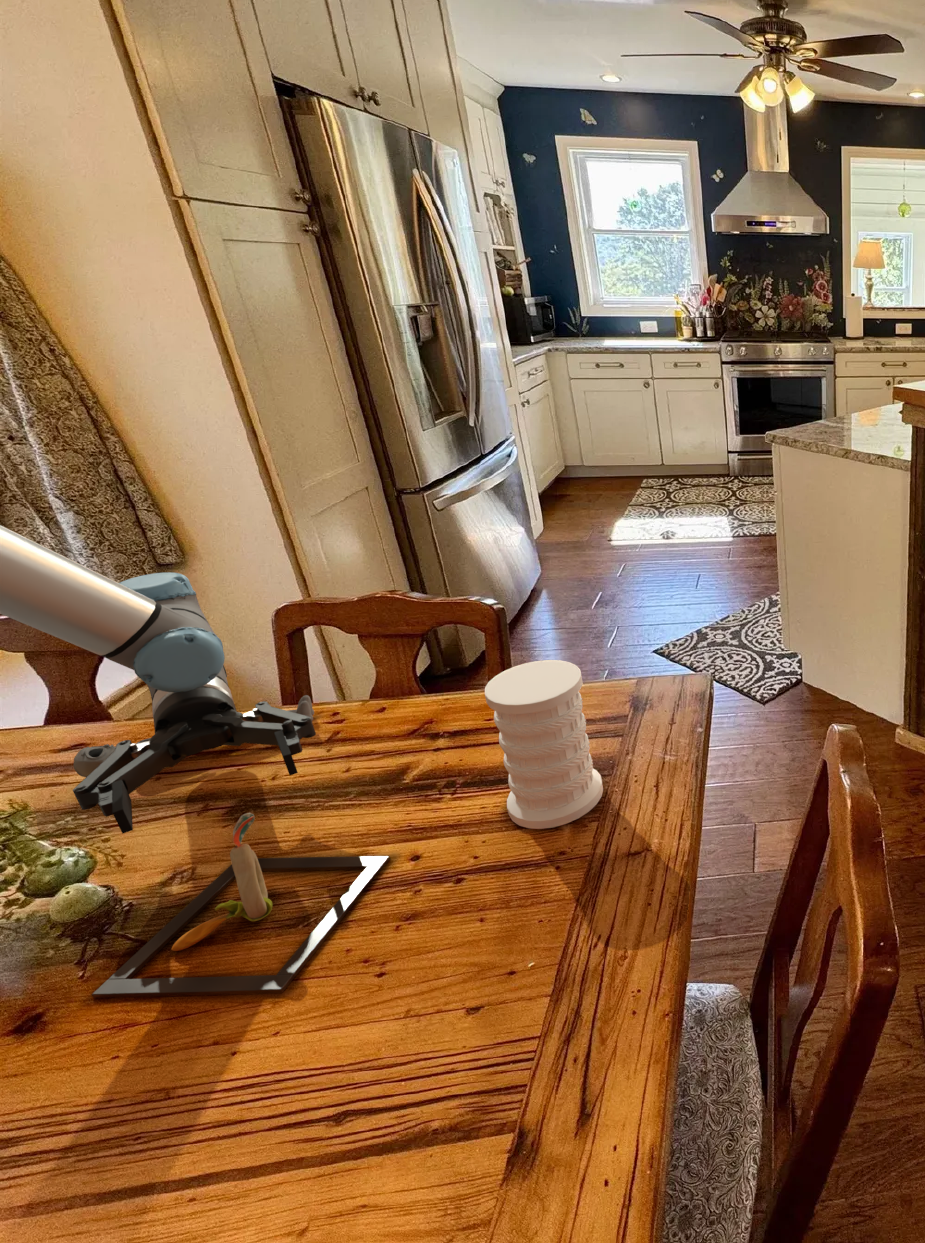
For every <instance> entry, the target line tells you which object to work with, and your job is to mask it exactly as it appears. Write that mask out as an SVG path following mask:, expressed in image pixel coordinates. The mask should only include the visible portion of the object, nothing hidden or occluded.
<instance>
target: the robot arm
mask: <svg viewBox="0 0 925 1243" xmlns="http://www.w3.org/2000/svg"><path fill="white" fill-rule="evenodd" d="M0 615H2V616H4V617H7V618H9V619H11V620H14V621H16V622H19V623H21V624H23V625H26V626H29V627H31V628H33V629H36V630H38V631H40V632H42V633H46V634H48V635H50V636H52V637H55V638H57V639H59V640H62V641H64V642H68V643H69V644H72V645H74V646H76V647H79V648H80V649H84V650H86V651H88V652H91V653H93V654H96V655H98V656H101V657H102V658H105V659H107V660H109V661H111V662H113V663H116V664H119V665H121V666H123V667H125V668H128V669H130V670H133V671H134V674H135V675H136V676H137V678H139V679H140V680H141V681H143V682H144V684H146V685H147V687H148V691H149V694H150V698H151V707H152V708H151V710H152V711H151V712H152V718H153V727H154V728H153V729H154V734H153V735H151V737H150V738H151V739H150V741H146V742H142V743H138V744H136V743H135V742H134V743H133V742H132V740H131V739H125V740H122V741H119V742H118V743H117V744H116V745H115V747H116V748H115V751H114V752H113V753H112V754H111V755H110V756H109V757H108V758H107V759H106V760H105V761H104V762H102V763H101V764H100V765H99V766H98V767H97V768H96V769H95V770H94V771H93V772H92V773H90V774H89V775H88V776H87V777H84V778H83V780H81V782H79V783H78V784H77V785H76V786H75V787H74V788H73V789H72V793H73V795H74V797H75V799H76V801H77V802H78V804H79V807H80V809H81V810H82V811H83V810H84V811H86V810H90V809H93V808H95V807H96V806H99V808H100V811H101V812H102V815H103V816H105V817H109V816H112V815H113V817H114V819H115V821H116V823H117V825H118V827H119V829H120V831H121V834H122V835H124V834H125V833H129V832H132V831H134V826H133V825H134V824H133V808H132V806H133V805H132V798H131V797H130V795H131V793H133V792H134V791H136V790H137V789H138V788H140V787H141V786H143V785H144V784H145V783H147V782H148V781H149V780H151V779H152V778H153V777H155V776H156V775H157V774H159V773H160V772H161V771H163V770H164V769H165V768H173V767H174V766H176V765H177V764H179V763H180V762H182V760H185V758H187V757H191V756H194V755H196V754H199V753H201V752H204V751H208V750H212V749H217V748H219V747H222V746H233V747H240V746H242V745H244V744H251V745H265V746H278V748H279V750H280V753H281V756H282V759H283V762H284V764H285V767H286V769H287V773H288V775H289V776H293V775H296V774H298V773H299V772H298V769H297V766H296V764H295V763H296V762H295V761H294V758H293V756H294V755H298V754H300V753H302V752H303V746H302V744H301V740H302V739H311V738H314V737H315V736H316V735H317V732H316V729H315V727H314V723H313V720H311V717H309V716H305V715H301V714H297V713H294V712H290V711H287V709H282V708H278V707H275V706H271V704H269V702H268V701H266V700H265V701H264V700H263V701H259V702H257V703H255V704H254V706H255V708H252V710H250V711H247V712H245V713H242V712H240V711H237V708H236V704H235V700H234V697H233V694H232V691H231V688H230V686H229V682H228V679H227V676H228V674H227V671H226V667H225V665H224V664H225V652H224V645H223V641H222V640H221V639H220V637H218V635H217V634H216V633H215V631H214V630H213V628H212V626H211V624H210V623H209V620H207V617H206V616H205V614H204V612H203V610H202V608H201V605H200V603H199V600H198V597H197V592H196V591H195V590H194V589H193V586H192V584H191V581H190V579H189V578H188V577H187V576H186V575H185V574H183V573H179V572H168V571H167V572H155V573H148V574H143V575H138V576H135V577H131V578H128V579H124V580H122V581H120V582H118V581H115V580H113V579H111V578H109V577H107V576H105V575H103V574H101V573H99V572H98V571H95V570H93V569H91V568H89V567H87V566H84V565H83V564H81V563H78V562H77V561H74V560H72V559H70V558H68V557H66V556H64V555H62V554H60V553H58V552H56V551H54V550H52V549H50V548H48V547H46V546H43V545H42V544H40V543H38V542H36V541H34V540H32V539H29V538H28V537H25V536H24V535H22V534H19V533H17V532H15V531H13V530H11V529H9V528H7V527H6V526H3V525H1V524H0ZM171 755H172V756H171Z"/></svg>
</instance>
